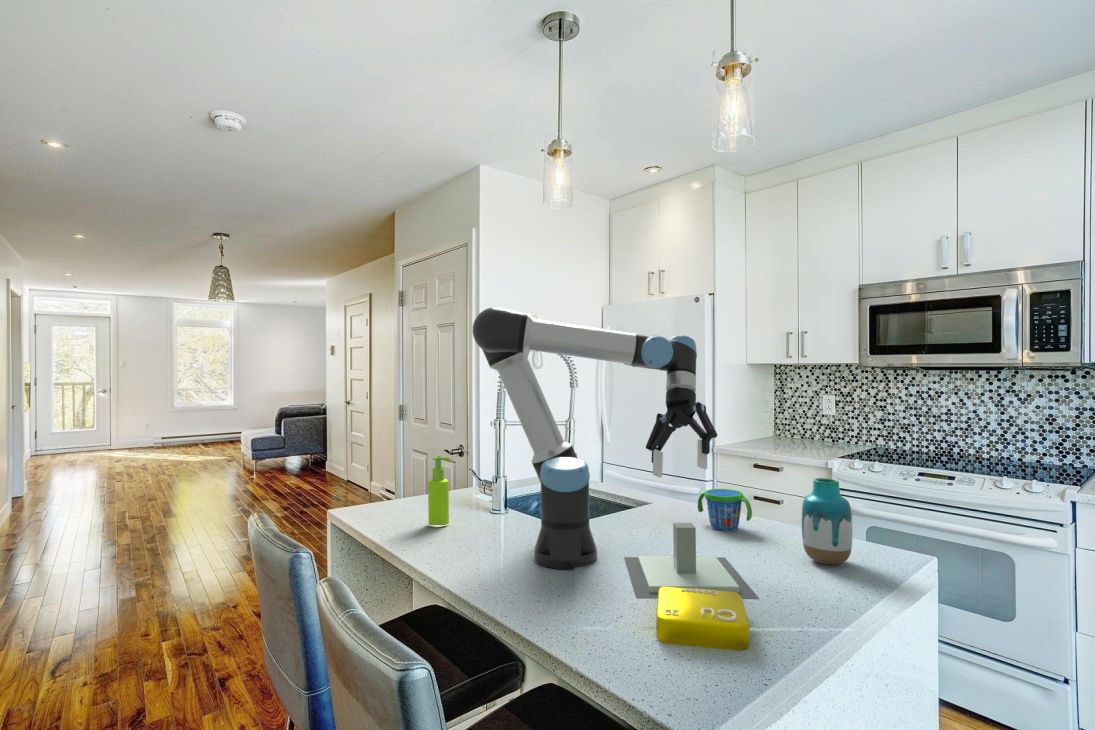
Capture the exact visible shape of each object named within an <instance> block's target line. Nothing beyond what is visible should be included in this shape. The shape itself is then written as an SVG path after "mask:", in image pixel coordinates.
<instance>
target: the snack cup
mask: <svg viewBox="0 0 1095 730" xmlns="http://www.w3.org/2000/svg"><path fill="white" fill-rule="evenodd" d="M704 498H705V500H706V505H707V506H706V507H707V511H708V518H709V524H710V527H711V529H714V530H717V531H725V532H731V531H735V530H738V528H739V526H740V525H739V524H740V517H741V511H742V510H741V509H742V502H744V503H745V506H746V510H747V511H746V513H747V514H746V521H747V522H749V521H751V519H752V517H753V509H752V506H751V503H750V501H749V500H748V498H747V497H745V496H744V493H743V492H742V491H740V490H736V489H730V488H729V489H728V488H713V489H708V490H705V491H704V492H703V493H701V494H700V495H699V497H698V500H697V511H698V512H699V513H702V512H704V507H703V499H704Z"/></svg>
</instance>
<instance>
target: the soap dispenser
mask: <svg viewBox="0 0 1095 730" xmlns="http://www.w3.org/2000/svg"><path fill="white" fill-rule="evenodd" d="M452 459H453V458H452V457H449V456H435V457H433V458H432V460H433V461H434V462H435V467H434V468H432V479H429V480H428V483H427V485H428V486H427V487H428V492H427V493H428V495H427V496H428V497H427V499H428V525H429V524H430V525H446V524H448V523H449V524H450V512H449V511H450V506H449V505H450V503H449V502H450V498H449V495H450V492H449V491H450V489H449V487H450V486H449V483H450V482H449V481H450V480H449V479H447V478H445V467H442V461H451V460H452Z"/></svg>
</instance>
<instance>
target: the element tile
mask: <svg viewBox="0 0 1095 730" xmlns="http://www.w3.org/2000/svg"><path fill="white" fill-rule="evenodd" d="M743 600H744V599H742V597H741V596H740V595H739V594H738V593H736V592H730V591H717V590H705V589H692V588H679V587H667V586H664V587H661V588H660V589H659V590H658V598H657V602H656V603H657V604H656V613H655V614H656V616H655V617H656V618H655V622H656V623H655V626H656V627H655V628H656V631H655V632H656V635H655V636H656V639H657V640H658V641H659V642H661V643H662V644H663V643H664V644H668V645H675V646H676V645H678V646H687V647H688V646H689V647H695V648H696V647H697V648H707V649H718V650H719V649H720V650H727V651H738V652H739V651H741V652H742V651H747V650H748V649H749V648H750V621H749V618H748V614H747V611H746V608H745V605H744V602H743Z"/></svg>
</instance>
